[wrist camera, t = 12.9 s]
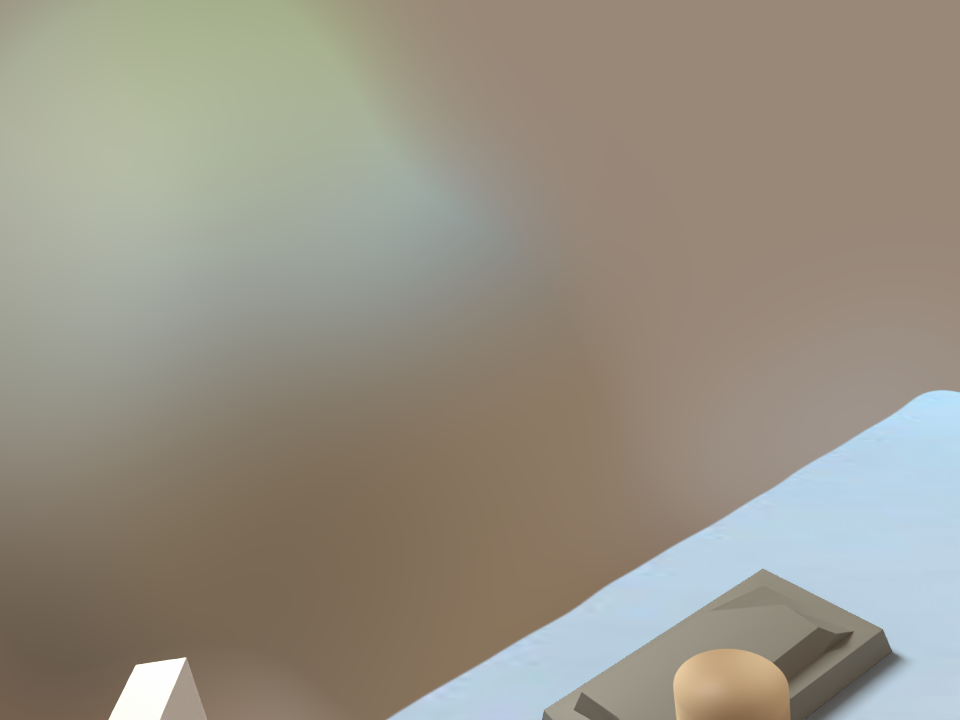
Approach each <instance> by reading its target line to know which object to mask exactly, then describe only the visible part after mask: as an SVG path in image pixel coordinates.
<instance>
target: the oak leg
mask: <svg viewBox="0 0 960 720" xmlns="http://www.w3.org/2000/svg"><path fill="white" fill-rule="evenodd" d="M673 690H674V699H675V709H676V718H677V720H791V718H790V697H789V685H788V682H787V679H786V677H785V676H784V674H783V673H782V671H781V670H780V669H779V668H778V667H777V666H776V665H775V664H773V663H772V662H771V661H769V660H768V659H766V658H764V657H762V656H760V655H757V654H755V653H752V652H748V651H744V650H738V649H716V650H710V651H706V652H703V653H700V654H697V655H695V656H693V657H692V658H690V659H688V660H687V661H686V662H685V663H683V664H682V665H681V667H680V668H679V669H678V671H677V672H676V674H675V677H674V682H673Z"/></svg>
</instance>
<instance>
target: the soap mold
mask: <svg viewBox="0 0 960 720" xmlns="http://www.w3.org/2000/svg"><path fill="white" fill-rule="evenodd" d="M716 649H738V650H744V651H748V652H752V653H755V654H757V655H760V656H762V657H764V658H766V659H768V660H769V661H771V662H772V663H773V664H775V665H776V666H777V667H778V668H779V669H780V670H781V671H782V673H783V674H784V676H785V677H786V679H787V682H788V685H789V697H790V718H791V720H804V719H805V718H807V717H808V716H809V715H811V714H812V713H813V712H814V711H816V710H817V709H818V708H820V707H821V706H822V705H823V704H825V703H826V702H827V701H829V700H830V699H831V698H832V697H834V696H835V695H836V694H838V693H839V692H840V691H842V690H843V689H844V688H845V687H847V686H848V685H849V684H851V683H852V682H853V681H854V680H856V679H857V678H858V677H860V676H861V675H862V674H863V673H865V672H866V671H867V670H869V669H870V668H871V667H872V666H874V665H875V664H876V663H878V662H879V661H880V660H881V659H883V658H884V657H885V656H887V655H888V654H889V653H890V652H892V650H891V648H890V645H889V643H888V641H887V638H886V636H885V633H884V631H883V629H881V628H879V627H877V626H875V625H873V624H871V623H869V622H867V621H865V620H863V619H861V618H860V617H858V616H856V615H854V614H852V613H850V612H848V611H846V610H844V609H842V608H840V607H838V606H836V605H834V604H832V603H830V602H828V601H826V600H824V599H822V598H820V597H818V596H816V595H814V594H812V593H810V592H808V591H806V590H804V589H802V588H800V587H798V586H796V585H794V584H792V583H790V582H788V581H786V580H784V579H782V578H780V577H778V576H776V575H774V574H773V573H771V572H769V571H767V570H765V569H762V570H760V571H759V572H757V573H755V574H754V575H752V576H751V577H749V578H748V579H746V580H745V581H743V582H742V583H740V584H738V585H737V586H735V587H734V588H732V589H731V590H729V591H728V592H726V593H724V594H723V595H721V596H720V597H718V598H717V599H715V600H714V601H712V602H711V603H709V604H707V605H706V606H704V607H703V608H701V609H700V610H698V611H697V612H695V613H694V614H692V615H690V616H689V617H687V618H686V619H684V620H683V621H681V622H680V623H678V624H677V625H675V626H673V627H672V628H670V629H669V630H667V631H666V632H664V633H663V634H661V635H659V636H658V637H656V638H655V639H653V640H652V641H650V642H649V643H647V644H646V645H644V646H642V647H641V648H639V649H638V650H636V651H635V652H633V653H632V654H630V655H629V656H627V657H625V658H624V659H622V660H621V661H619V662H618V663H616V664H615V665H613V666H612V667H610V668H608V669H607V670H605V671H604V672H602V673H601V674H599V675H598V676H596V677H595V678H593V679H591V680H590V681H588V682H587V683H585V684H584V685H582V686H581V687H579V688H577V689H576V690H574V691H573V692H571V693H570V694H568V695H567V696H565V697H564V698H562V699H560V700H559V701H557V702H556V703H554V704H553V705H551V706H550V707H548V708H547V709H545V710H544V713H543V719H542V720H677V718H676V709H675V699H674V690H673V682H674V677H675V674H676V672H677V671H678V669H679V668H680V667H681V665H682V664H683V663H685V662H686V661H687V660H688V659H690V658H692V657H693V656H695V655H697V654H700V653H703V652H706V651H710V650H716Z"/></svg>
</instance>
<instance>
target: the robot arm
mask: <svg viewBox="0 0 960 720" xmlns="http://www.w3.org/2000/svg"><path fill="white" fill-rule="evenodd" d="M109 720H207V718H206V715H205V712H204V709H203V706H202V703H201V700H200V697H199V694H198V691H197V688H196V685H195V682H194V679H193V676H192V673H191V671H190V667H189V664H188V662H187V658H180V659H173V660H166V661H160V662H153V663H147V664H140V665H136V666H135V668H134V670H133V672H132V674H131V676H130V678H129V680H128V682H127V684H126V686H125V688H124V690H123V692H122V694H121V696H120V698H119V700H118V702H117V704H116V706H115V708H114V710H113V712H112V714H111V716H110V718H109Z"/></svg>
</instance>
